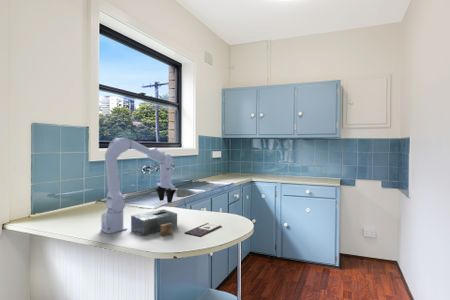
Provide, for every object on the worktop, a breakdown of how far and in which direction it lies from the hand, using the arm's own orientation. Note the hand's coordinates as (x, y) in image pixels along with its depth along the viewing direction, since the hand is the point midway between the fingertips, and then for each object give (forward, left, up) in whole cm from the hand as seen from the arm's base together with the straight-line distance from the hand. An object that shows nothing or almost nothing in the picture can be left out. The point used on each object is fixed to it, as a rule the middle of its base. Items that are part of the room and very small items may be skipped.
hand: (165, 201), depth 151 cm
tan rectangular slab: (-13, -22, -10) cm, 27 cm away
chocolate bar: (+4, -28, -11) cm, 30 cm away
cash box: (-12, -10, -10) cm, 19 cm away
